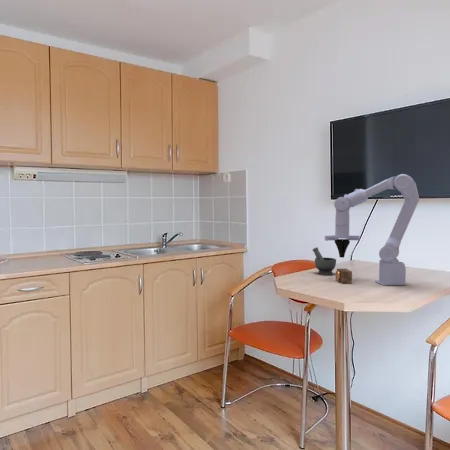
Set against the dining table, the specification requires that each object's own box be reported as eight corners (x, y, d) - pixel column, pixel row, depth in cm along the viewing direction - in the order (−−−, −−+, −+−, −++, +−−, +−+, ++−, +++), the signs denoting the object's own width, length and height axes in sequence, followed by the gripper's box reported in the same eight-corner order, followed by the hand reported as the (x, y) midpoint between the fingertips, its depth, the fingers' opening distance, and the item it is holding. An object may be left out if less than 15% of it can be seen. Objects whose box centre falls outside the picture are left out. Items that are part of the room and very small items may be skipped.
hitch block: (346, 280, 165) (346, 268, 165) (351, 283, 158) (352, 271, 158) (336, 280, 165) (336, 268, 165) (342, 283, 158) (342, 271, 158)
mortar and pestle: (339, 273, 182) (339, 247, 181) (332, 276, 174) (332, 249, 173) (316, 270, 188) (316, 246, 188) (308, 273, 181) (308, 248, 180)
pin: (349, 279, 164) (349, 270, 163) (352, 281, 160) (352, 271, 160) (335, 279, 164) (335, 270, 163) (338, 281, 160) (338, 272, 160)
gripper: (355, 225, 171) (355, 255, 172) (322, 225, 171) (322, 255, 172) (361, 225, 164) (361, 258, 165) (327, 226, 164) (327, 258, 165)
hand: (341, 257), depth 168 cm, fingers closed
